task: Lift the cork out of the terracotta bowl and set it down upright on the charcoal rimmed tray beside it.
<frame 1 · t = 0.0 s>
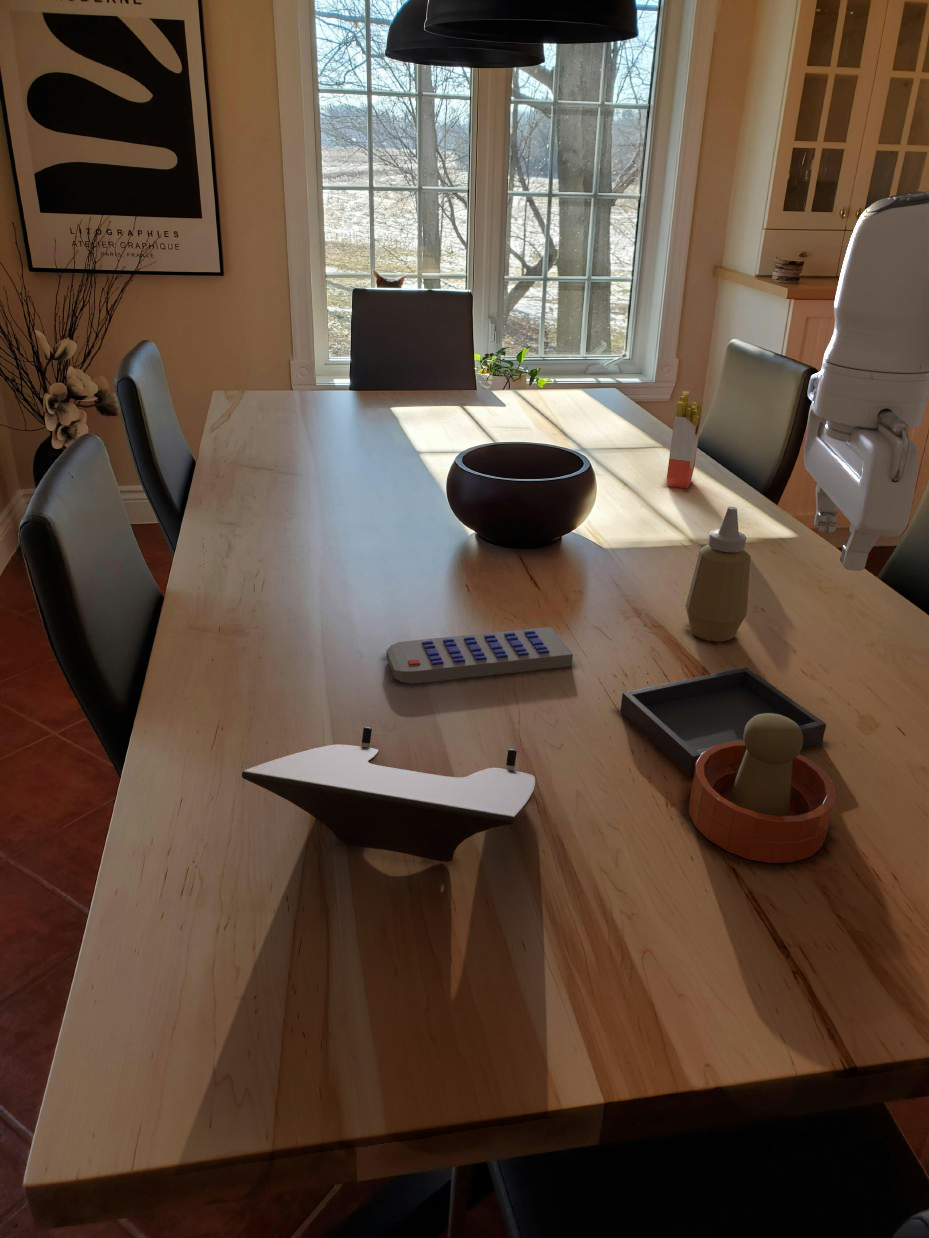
hand: (837, 547, 84), 25 cm above the table, tool pointing down, fingers open, 8 cm apart
laptop tray: (411, 821, 86), on the table
remote control: (480, 660, 115), on the table
squeeze bottle: (711, 634, 123), on the table
bowl: (755, 820, 87), on the table
french fries container: (679, 484, 185), on the table
tray: (718, 727, 102), on the table
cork: (755, 819, 87), resting on bowl
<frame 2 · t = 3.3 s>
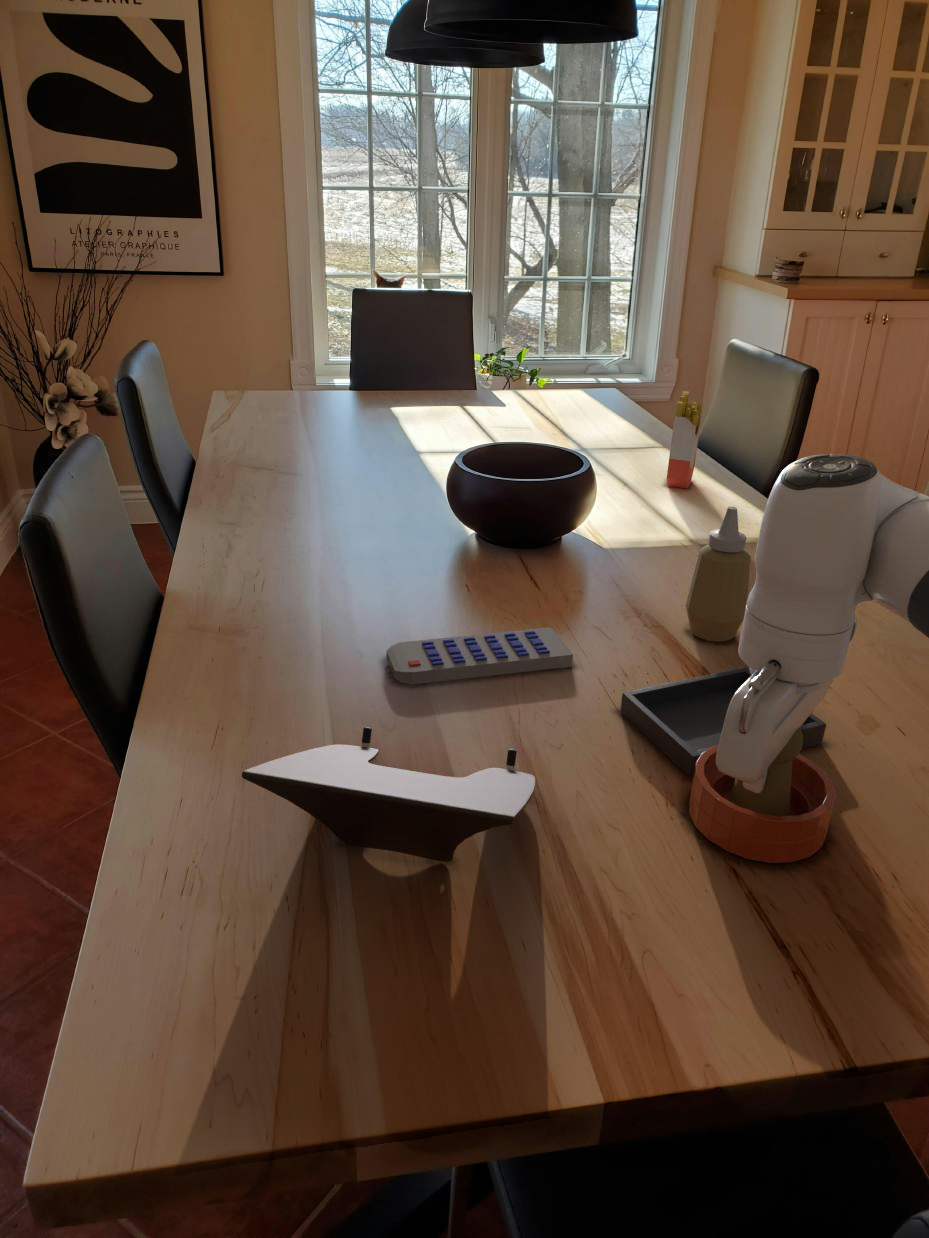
hand: (765, 772, 84), 6 cm above the table, tool pointing down, fingers closed on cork, 4 cm apart
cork: (755, 819, 87), resting on bowl, touching gripper
everything else where it was.
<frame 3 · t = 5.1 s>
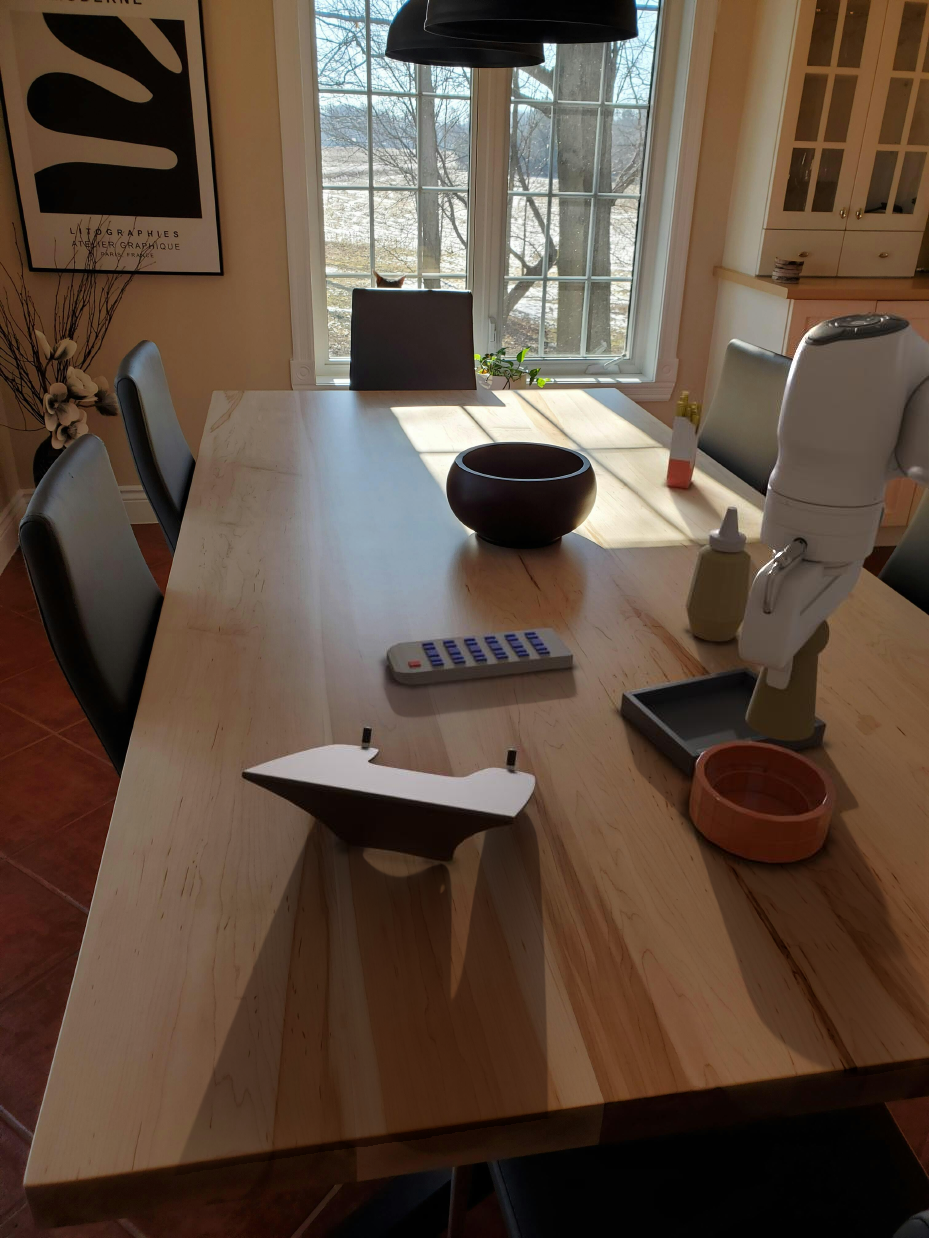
hand: (789, 671, 80), 17 cm above the table, tool pointing down, fingers closed on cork, 4 cm apart
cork: (779, 724, 82), point 11 cm above the table, touching gripper
everything else where it was.
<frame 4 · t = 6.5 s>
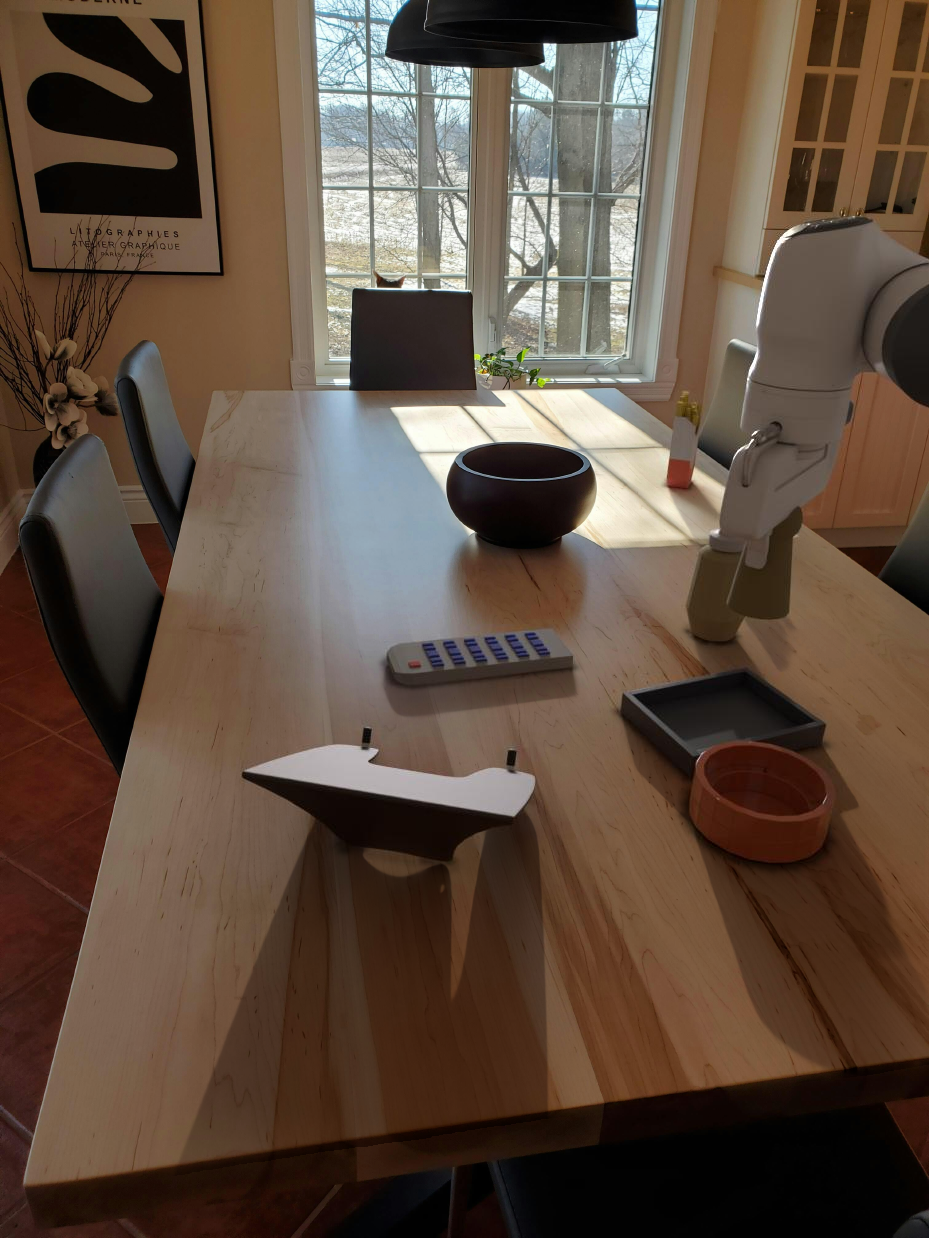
hand: (767, 556, 87), 23 cm above the table, tool pointing down, fingers closed on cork, 4 cm apart
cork: (757, 608, 89), point 17 cm above the table, touching gripper
everything else where it was.
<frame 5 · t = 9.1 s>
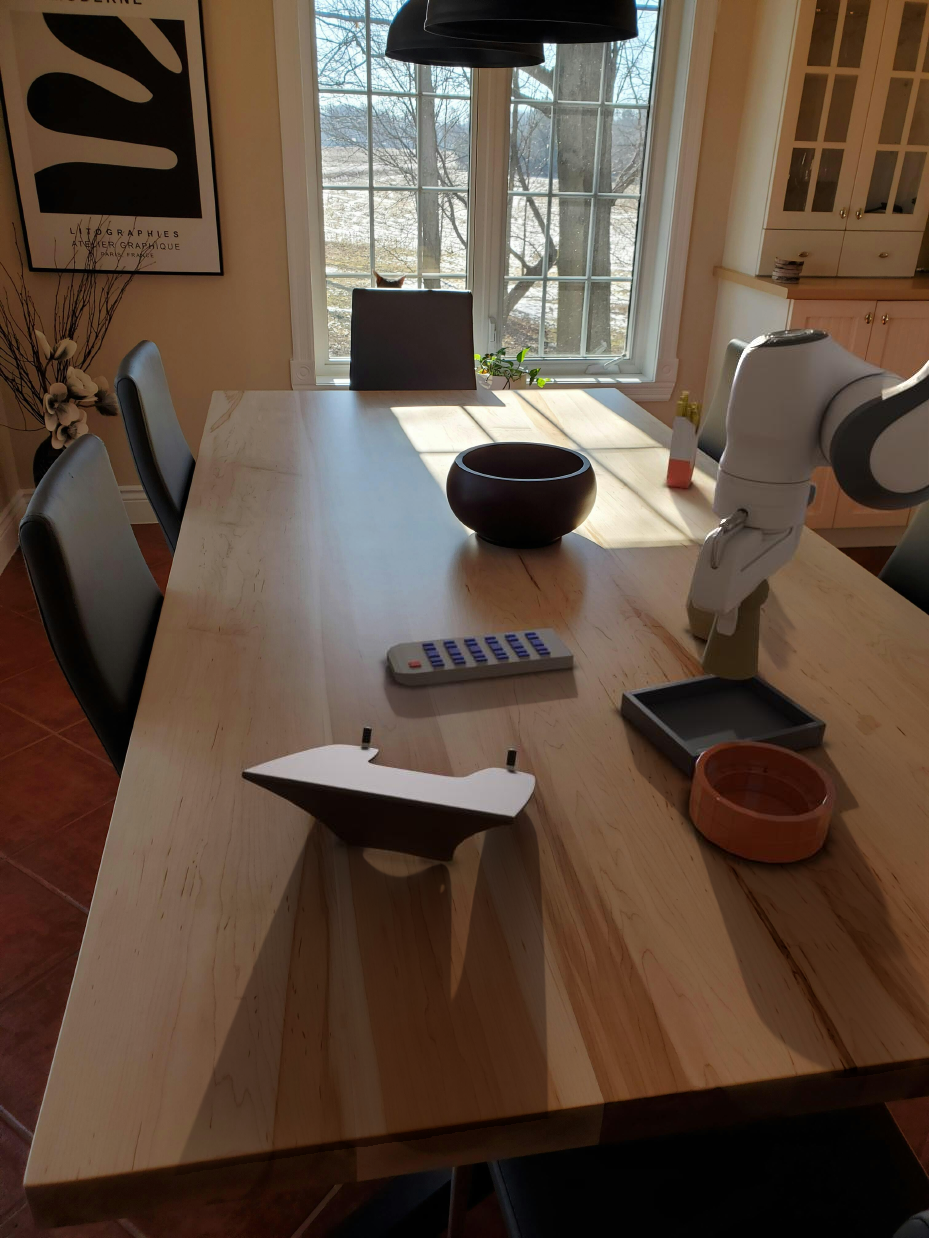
hand: (737, 622, 96), 13 cm above the table, tool pointing down, fingers closed on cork, 4 cm apart
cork: (728, 667, 98), point 8 cm above the table, touching gripper
everything else where it was.
when the fingers open (6 cm above the table, at t = 11.2 s): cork stays where it is, resting on tray.
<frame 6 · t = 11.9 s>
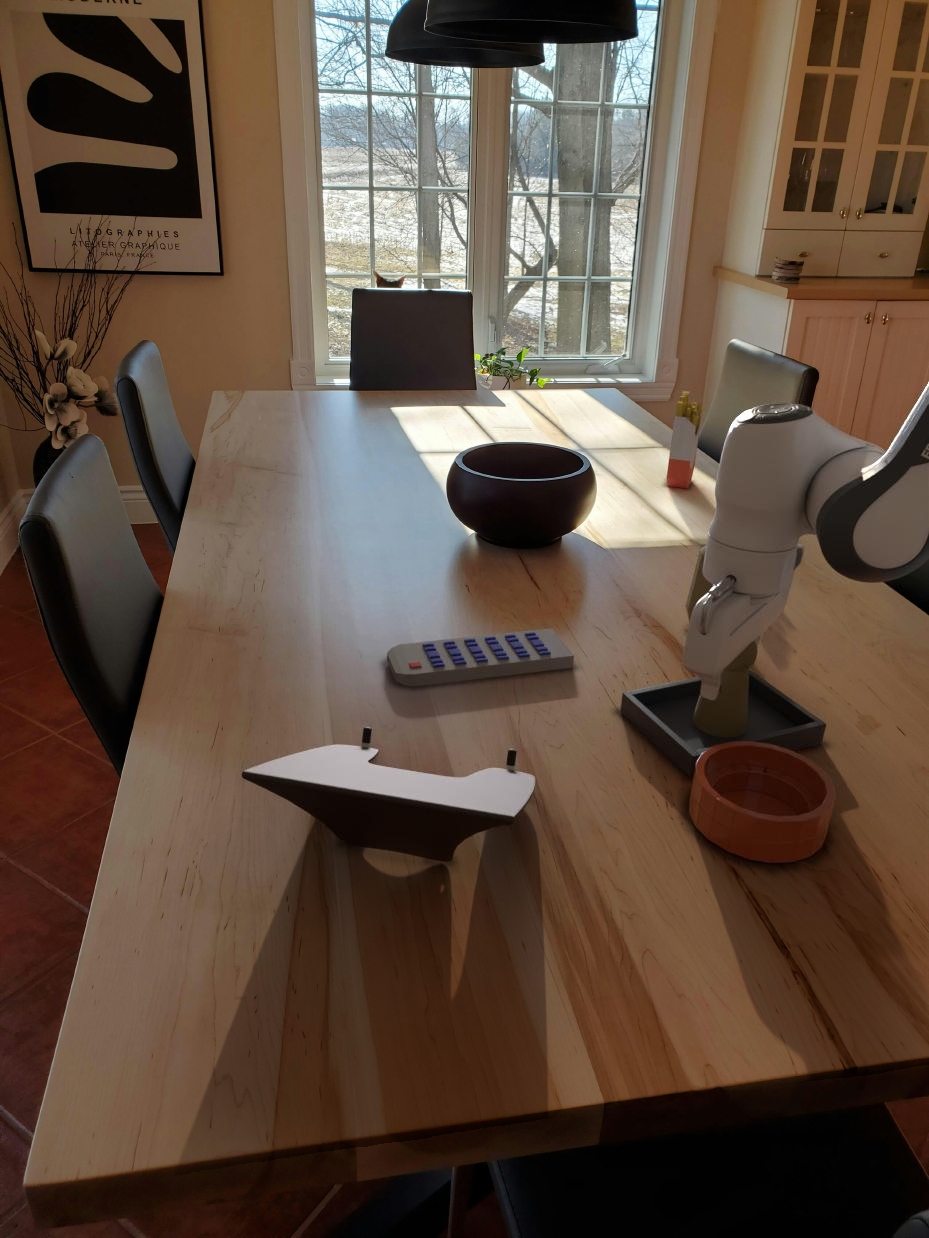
hand: (727, 679, 99), 6 cm above the table, tool pointing down, fingers open, 8 cm apart
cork: (719, 724, 102), resting on tray
everything else where it was.
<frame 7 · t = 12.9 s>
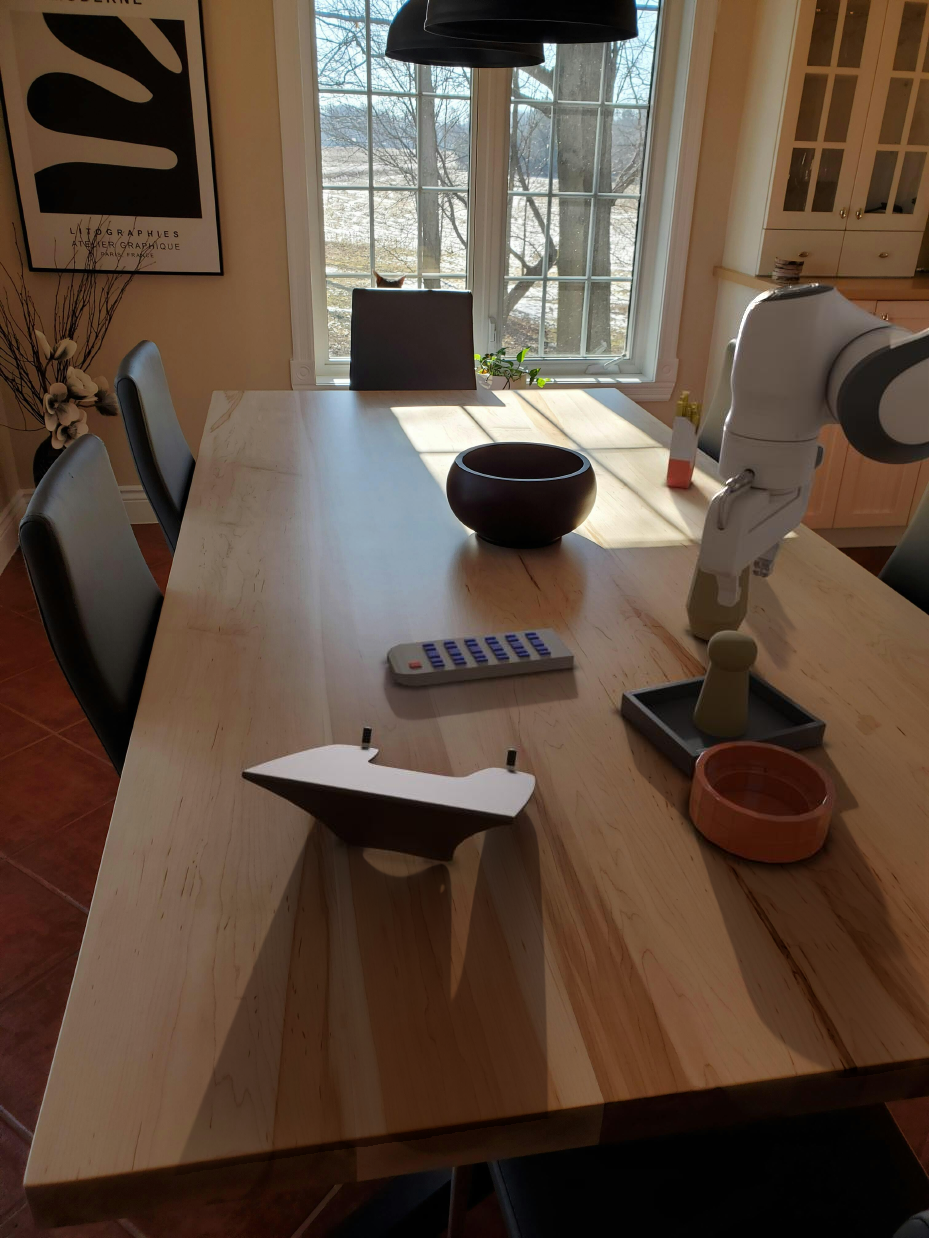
hand: (745, 588, 94), 17 cm above the table, tool pointing down, fingers open, 8 cm apart
nothing on the table moved.
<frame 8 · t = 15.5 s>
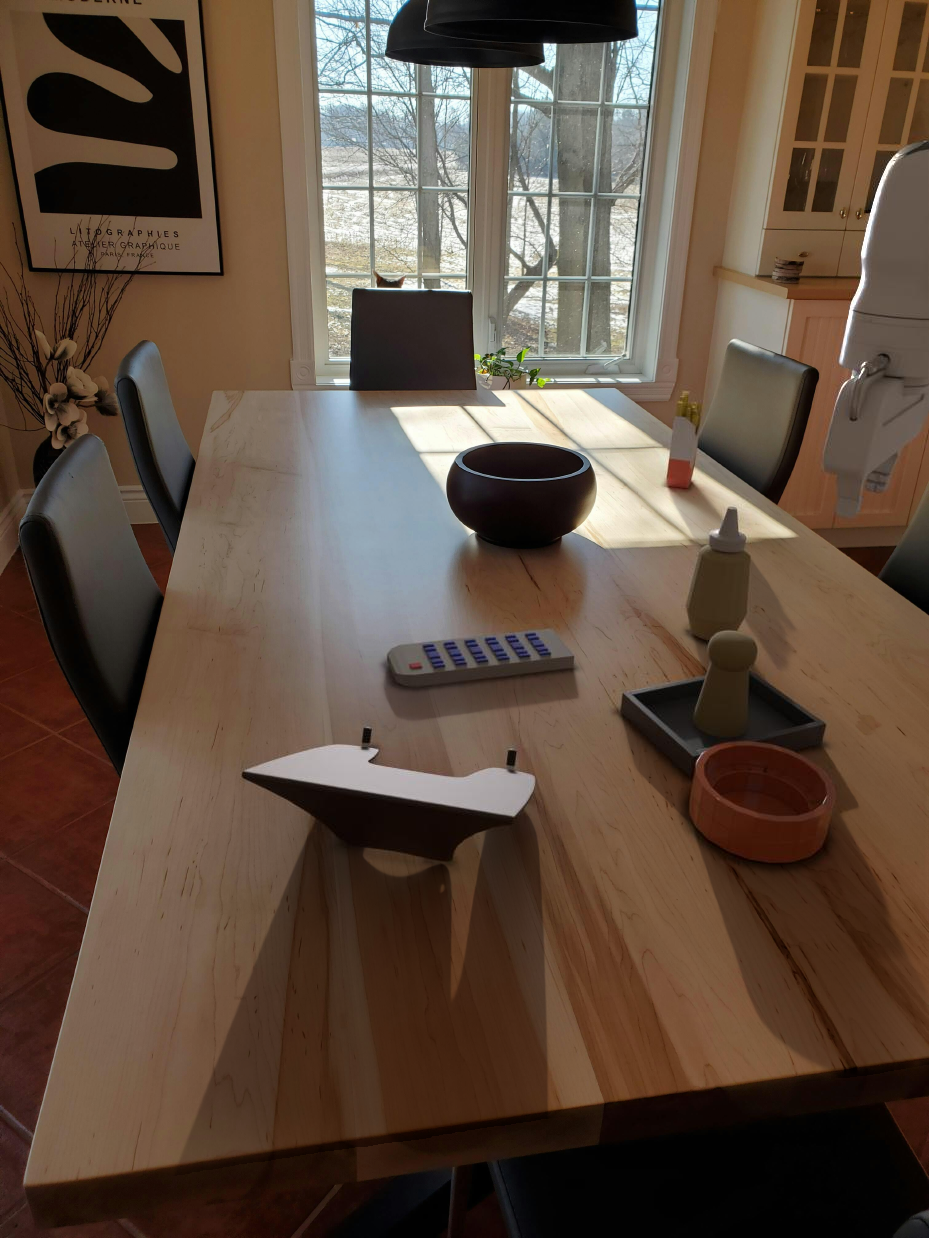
hand: (861, 502, 83), 29 cm above the table, tool pointing down, fingers open, 8 cm apart
nothing on the table moved.
at the end: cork inside the target area in the tray (0.0 cm from its centre), point 0.4 cm above the tray's base; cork tilted 0°; the gripper is holding nothing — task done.
